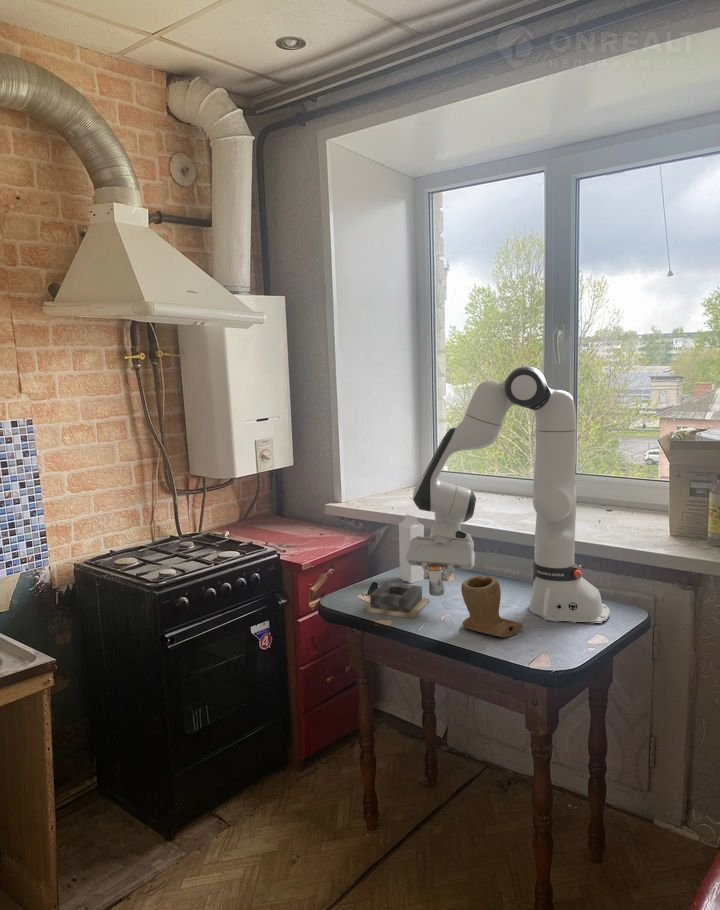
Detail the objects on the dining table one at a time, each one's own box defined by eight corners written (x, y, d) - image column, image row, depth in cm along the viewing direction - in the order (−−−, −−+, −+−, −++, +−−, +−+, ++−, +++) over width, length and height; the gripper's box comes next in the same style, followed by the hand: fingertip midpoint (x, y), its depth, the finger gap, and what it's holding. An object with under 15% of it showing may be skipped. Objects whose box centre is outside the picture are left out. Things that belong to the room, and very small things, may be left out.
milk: (411, 583, 225) (409, 518, 221) (399, 579, 230) (398, 515, 226) (425, 579, 228) (423, 515, 225) (413, 575, 233) (412, 512, 230)
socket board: (429, 601, 208) (429, 586, 207) (414, 618, 195) (413, 601, 194) (381, 595, 214) (380, 580, 214) (363, 611, 202) (362, 595, 201)
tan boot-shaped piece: (452, 631, 185) (451, 578, 183) (477, 618, 194) (476, 567, 192) (500, 646, 175) (500, 590, 173) (524, 632, 184) (524, 578, 181)
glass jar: (446, 591, 200) (445, 565, 199) (441, 596, 196) (440, 569, 195) (432, 590, 202) (430, 564, 201) (427, 595, 198) (426, 568, 197)
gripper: (409, 530, 207) (399, 571, 200) (474, 534, 199) (467, 577, 191) (414, 541, 212) (405, 581, 204) (479, 545, 203) (471, 587, 196)
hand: (435, 579), depth 198 cm, fingers closed on glass jar, 4 cm apart
